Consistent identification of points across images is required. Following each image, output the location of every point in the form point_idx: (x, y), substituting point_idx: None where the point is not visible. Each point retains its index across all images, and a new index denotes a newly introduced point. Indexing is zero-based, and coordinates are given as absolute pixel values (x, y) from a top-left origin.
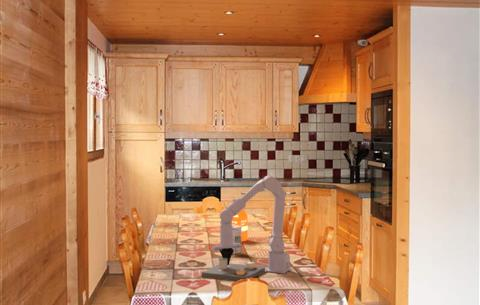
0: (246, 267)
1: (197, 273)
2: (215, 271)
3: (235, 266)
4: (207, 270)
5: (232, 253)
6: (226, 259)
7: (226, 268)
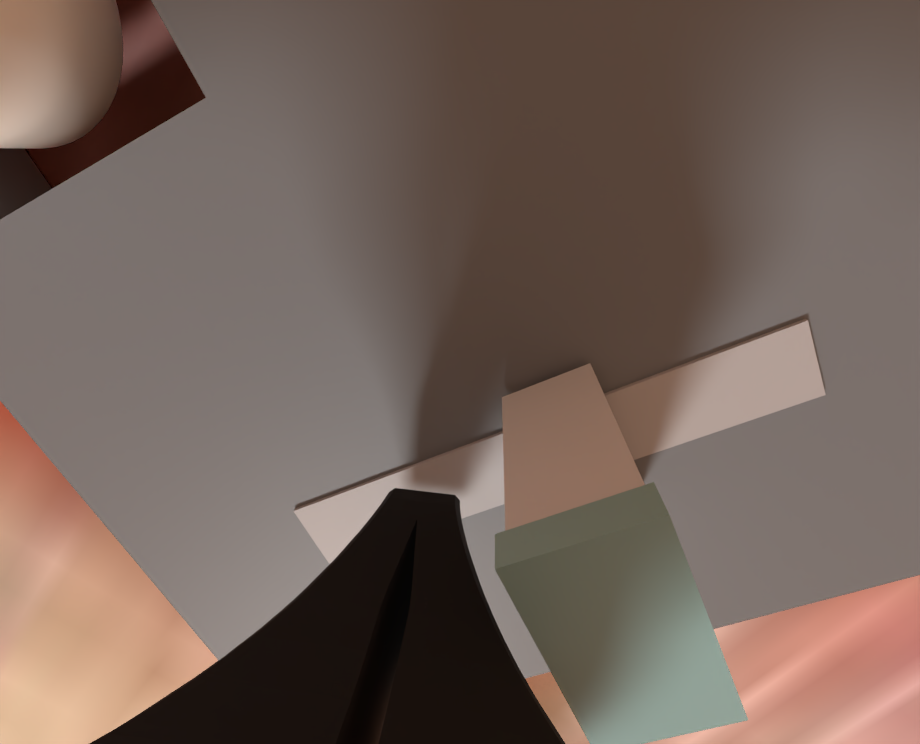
0: (84, 44)
1: (863, 649)
2: (866, 389)
3: (235, 437)
4: (898, 552)
5: (151, 713)
6: (578, 521)
7: (543, 385)
